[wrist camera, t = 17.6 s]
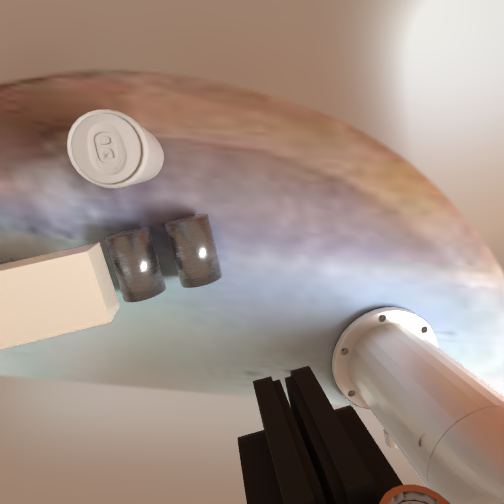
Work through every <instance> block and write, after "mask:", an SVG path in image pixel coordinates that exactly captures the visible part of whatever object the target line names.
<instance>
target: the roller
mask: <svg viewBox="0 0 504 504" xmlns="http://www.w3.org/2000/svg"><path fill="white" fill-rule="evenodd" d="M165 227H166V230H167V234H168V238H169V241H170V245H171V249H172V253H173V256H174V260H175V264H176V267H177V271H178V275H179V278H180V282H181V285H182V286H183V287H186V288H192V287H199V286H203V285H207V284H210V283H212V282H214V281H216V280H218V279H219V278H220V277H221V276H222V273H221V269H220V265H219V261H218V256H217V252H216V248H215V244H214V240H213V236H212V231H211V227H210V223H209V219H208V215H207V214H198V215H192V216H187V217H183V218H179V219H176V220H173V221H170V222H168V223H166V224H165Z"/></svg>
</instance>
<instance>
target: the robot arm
mask: <svg viewBox="0 0 504 504" xmlns="http://www.w3.org/2000/svg"><path fill="white" fill-rule="evenodd" d="M332 372H333V376H334V379H335V382H336V384H337V385H338V387H339V389H340V390H341V392H342V393H343V395H344V396H345V397H346V398H347V399H348V400H349V401H351V402H352V403H354V404H356V405H357V406H360V407H363V408H366V409H371V411H372V412H373V413H374V415H375V416H376V418H377V419H378V420H379V422H380V423H381V425H382V426H383V427H384V437H385V443H386V445H387V446H389V447H390V448H395V449H396V448H399V449H400V451H401V452H402V454H403V455H404V457H405V458H406V459H407V461H408V462H409V464H410V465H411V466H412V468H413V469H414V470H415V472H416V473H417V475H418V476H419V477H420V479H421V480H422V482H423V483H424V484H425V486H426V487H423V486H419V485H403V484H402V482H401V481H400V479H399V478H398V476H397V474H396V473H395V471H394V470H393V468H392V467H391V465H390V464H389V463H388V461H387V459H386V458H385V456H384V454H383V453H382V451H381V450H380V449H379V447H378V445H377V444H376V442H375V441H374V439H373V438H372V436H371V435H370V433H369V432H368V430H367V428H366V427H365V425H364V424H363V422H362V421H361V419H360V418H359V416H358V415H357V413H356V411H355V410H354V409H353V407H352V406H350V405H349V406H346V407H342V408H339V409H336V410H334V409H333V407H332V405H331V404H330V402H329V400H328V398H327V397H326V395H325V393H324V391H323V390H322V388H321V386H320V384H319V382H318V381H317V379H316V377H315V375H314V374H313V372H312V370H311V368H310V367H309V366H307V367H303V368H299V369H296V370H292V371H291V376H290V377H287V378H285V382H286V387H287V392H288V397H289V401H290V405H289V402H288V400H287V397H286V395H285V392H284V390H283V387H282V384H281V382H280V380H276V381H273V380H272V378H271V376H270V377H266V378H263V379H259V380H255V381H253V384H254V389H255V393H256V397H257V401H258V405H259V410H260V414H261V418H262V423H263V427H264V430H263V431H259V432H255V433H252V434H248V435H245V436H242V437H238V446H239V453H240V460H241V466H242V473H243V480H244V487H245V493H246V500H247V504H504V396H503V395H502V394H500V393H499V392H498V391H496V390H495V389H494V388H492V387H491V386H490V385H488V384H487V383H486V382H484V381H483V380H482V379H480V378H479V377H478V376H476V375H475V374H473V373H472V372H471V371H469V370H468V369H467V368H465V367H464V366H463V365H461V364H460V363H459V362H457V361H456V360H455V359H453V358H452V357H451V356H449V355H448V354H447V353H445V352H444V351H443V350H441V349H440V348H438V345H437V339H436V336H435V334H434V332H433V330H432V328H431V327H430V326H429V324H428V323H427V322H426V321H425V320H424V319H422V318H421V317H420V316H418V315H417V314H415V313H414V312H411V311H409V310H406V309H403V308H398V307H384V308H380V309H375V310H373V311H370V312H368V313H365V314H364V315H362V316H360V317H359V318H357V319H356V320H355V321H354V322H352V323H351V324H350V325H349V326H348V327H347V328H346V330H345V331H344V332H343V333H342V335H341V336H340V338H339V340H338V342H337V344H336V346H335V349H334V352H333V358H332ZM290 406H291V408H290Z"/></svg>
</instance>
